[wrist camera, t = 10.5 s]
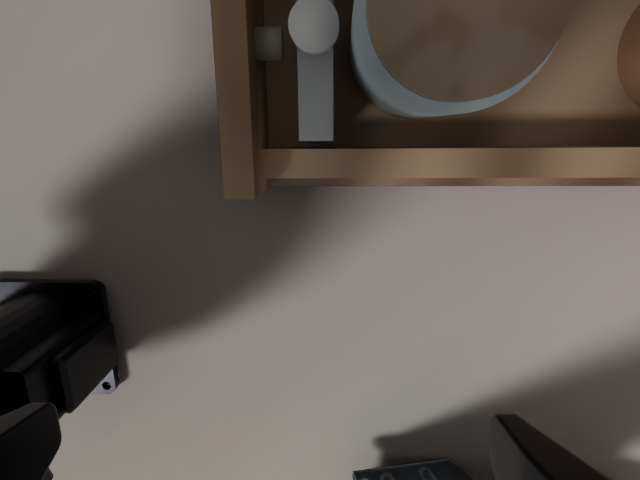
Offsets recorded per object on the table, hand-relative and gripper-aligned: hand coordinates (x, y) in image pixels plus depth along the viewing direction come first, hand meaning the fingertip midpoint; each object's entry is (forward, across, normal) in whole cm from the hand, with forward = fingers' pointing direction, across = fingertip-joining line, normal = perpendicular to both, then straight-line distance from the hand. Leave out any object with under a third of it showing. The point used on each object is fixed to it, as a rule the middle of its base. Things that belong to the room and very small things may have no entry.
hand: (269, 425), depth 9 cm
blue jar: (+12, -4, -9) cm, 16 cm away
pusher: (+12, 0, -9) cm, 15 cm away
